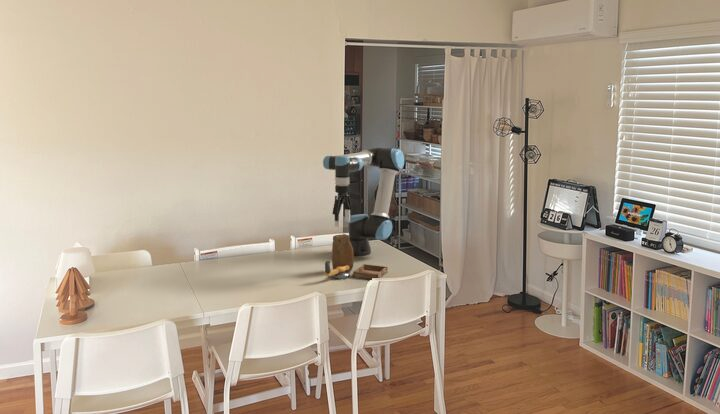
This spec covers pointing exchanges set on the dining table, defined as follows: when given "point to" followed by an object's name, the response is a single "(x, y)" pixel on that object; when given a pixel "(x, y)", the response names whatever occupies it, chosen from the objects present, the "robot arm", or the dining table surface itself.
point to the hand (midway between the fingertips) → (342, 224)
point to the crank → (335, 271)
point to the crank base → (341, 275)
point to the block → (342, 252)
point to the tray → (370, 271)
